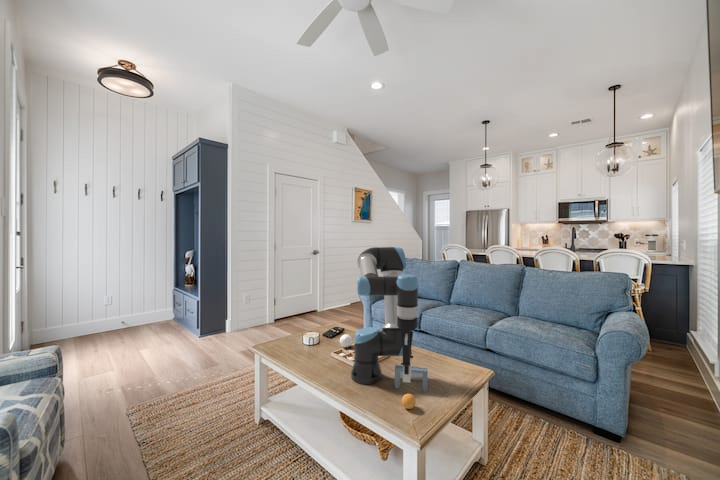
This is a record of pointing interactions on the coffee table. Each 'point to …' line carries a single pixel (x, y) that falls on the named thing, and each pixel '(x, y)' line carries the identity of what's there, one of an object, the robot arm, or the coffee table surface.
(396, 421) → the coffee table surface
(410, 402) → the ball
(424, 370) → the bridge
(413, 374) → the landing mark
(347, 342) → the geometric ball
